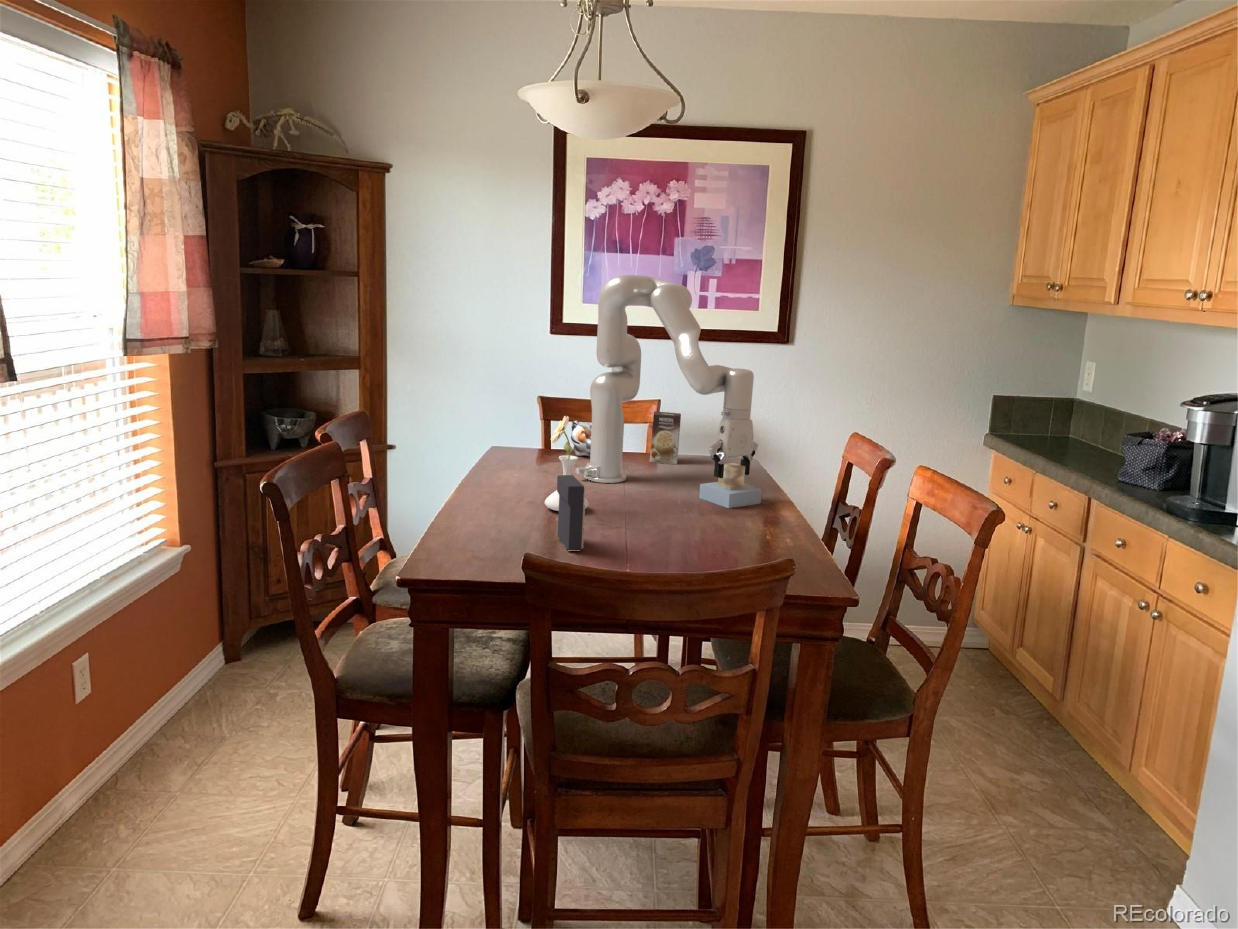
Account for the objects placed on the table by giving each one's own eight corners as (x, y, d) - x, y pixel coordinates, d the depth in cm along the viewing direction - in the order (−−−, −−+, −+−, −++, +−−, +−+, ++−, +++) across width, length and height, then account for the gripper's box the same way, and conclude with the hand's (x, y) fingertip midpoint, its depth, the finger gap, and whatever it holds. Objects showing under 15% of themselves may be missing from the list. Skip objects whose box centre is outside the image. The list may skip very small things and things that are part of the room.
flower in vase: (551, 502, 241) (554, 408, 236) (593, 506, 239) (597, 412, 234) (536, 514, 229) (540, 416, 223) (580, 519, 227) (585, 420, 221)
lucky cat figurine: (619, 458, 300) (610, 424, 292) (586, 473, 297) (576, 439, 289) (600, 437, 311) (591, 404, 303) (569, 451, 309) (559, 418, 300)
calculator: (584, 552, 201) (587, 486, 198) (565, 552, 200) (568, 486, 197) (572, 537, 211) (575, 474, 208) (554, 538, 210) (557, 474, 207)
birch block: (730, 489, 248) (731, 468, 247) (717, 485, 252) (719, 464, 251) (743, 487, 251) (745, 466, 250) (731, 483, 255) (732, 462, 254)
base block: (728, 508, 244) (729, 493, 244) (699, 497, 254) (700, 484, 253) (760, 503, 251) (761, 489, 251) (730, 493, 261) (731, 480, 260)
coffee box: (649, 462, 296) (652, 413, 293) (650, 458, 303) (653, 410, 299) (677, 464, 295) (680, 415, 292) (678, 460, 302) (681, 412, 298)
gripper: (722, 418, 239) (717, 481, 243) (769, 415, 250) (763, 475, 253) (703, 413, 245) (698, 475, 249) (749, 410, 255) (744, 470, 259)
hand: (731, 475), depth 251 cm, fingers open, 9 cm apart
